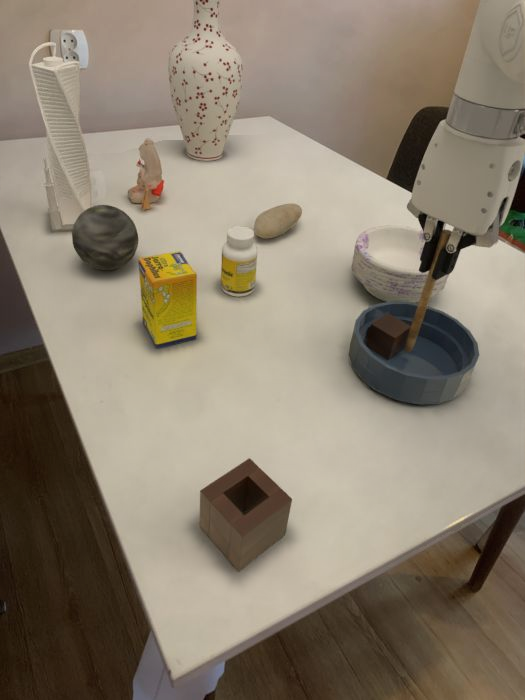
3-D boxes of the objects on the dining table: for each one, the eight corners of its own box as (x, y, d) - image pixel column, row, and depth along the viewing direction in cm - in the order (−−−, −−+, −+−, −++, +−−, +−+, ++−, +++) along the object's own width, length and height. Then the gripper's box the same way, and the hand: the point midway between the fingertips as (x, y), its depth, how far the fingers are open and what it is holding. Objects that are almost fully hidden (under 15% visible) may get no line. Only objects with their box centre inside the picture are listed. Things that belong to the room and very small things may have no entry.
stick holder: (285, 534, 53) (292, 499, 49) (238, 571, 50) (242, 536, 46) (245, 494, 56) (249, 457, 52) (199, 526, 53) (199, 490, 49)
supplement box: (142, 324, 76) (136, 257, 69) (181, 315, 79) (180, 249, 72) (155, 350, 72) (151, 281, 65) (197, 339, 75) (197, 272, 68)
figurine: (126, 190, 109) (131, 129, 102) (160, 195, 111) (167, 135, 104) (127, 209, 102) (133, 144, 95) (163, 213, 104) (171, 150, 97)
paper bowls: (331, 270, 92) (339, 228, 87) (407, 259, 97) (418, 219, 92) (376, 323, 81) (389, 278, 76) (458, 308, 86) (475, 265, 81)
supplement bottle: (216, 281, 86) (217, 225, 80) (248, 276, 88) (252, 222, 82) (226, 299, 83) (229, 243, 76) (259, 295, 84) (264, 239, 78)
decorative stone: (92, 246, 91) (84, 190, 85) (148, 255, 91) (145, 199, 84) (65, 276, 84) (54, 217, 77) (127, 287, 83) (121, 228, 77)
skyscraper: (52, 210, 100) (21, 39, 82) (97, 208, 102) (77, 41, 84) (51, 232, 94) (18, 53, 76) (100, 229, 96) (78, 54, 78)
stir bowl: (488, 372, 74) (502, 345, 71) (420, 427, 66) (432, 398, 62) (395, 315, 83) (403, 288, 80) (324, 357, 74) (330, 328, 71)
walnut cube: (404, 348, 76) (411, 326, 73) (388, 360, 74) (395, 338, 71) (381, 334, 78) (387, 312, 75) (364, 346, 76) (370, 323, 73)
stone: (242, 226, 96) (274, 186, 101) (255, 254, 100) (284, 214, 106) (269, 226, 92) (300, 185, 98) (281, 255, 96) (310, 214, 102)
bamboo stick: (414, 349, 74) (454, 232, 63) (409, 353, 74) (448, 235, 62) (407, 345, 75) (445, 228, 64) (402, 348, 74) (440, 230, 63)
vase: (198, 172, 119) (198, -18, 96) (156, 149, 127) (148, -31, 105) (252, 158, 128) (265, -19, 105) (210, 137, 136) (213, -31, 114)
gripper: (575, 134, 53) (505, 291, 64) (441, 92, 61) (401, 238, 73) (540, 148, 48) (472, 313, 60) (402, 101, 57) (366, 254, 69)
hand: (434, 271), depth 66 cm, fingers closed on bamboo stick, 1 cm apart
